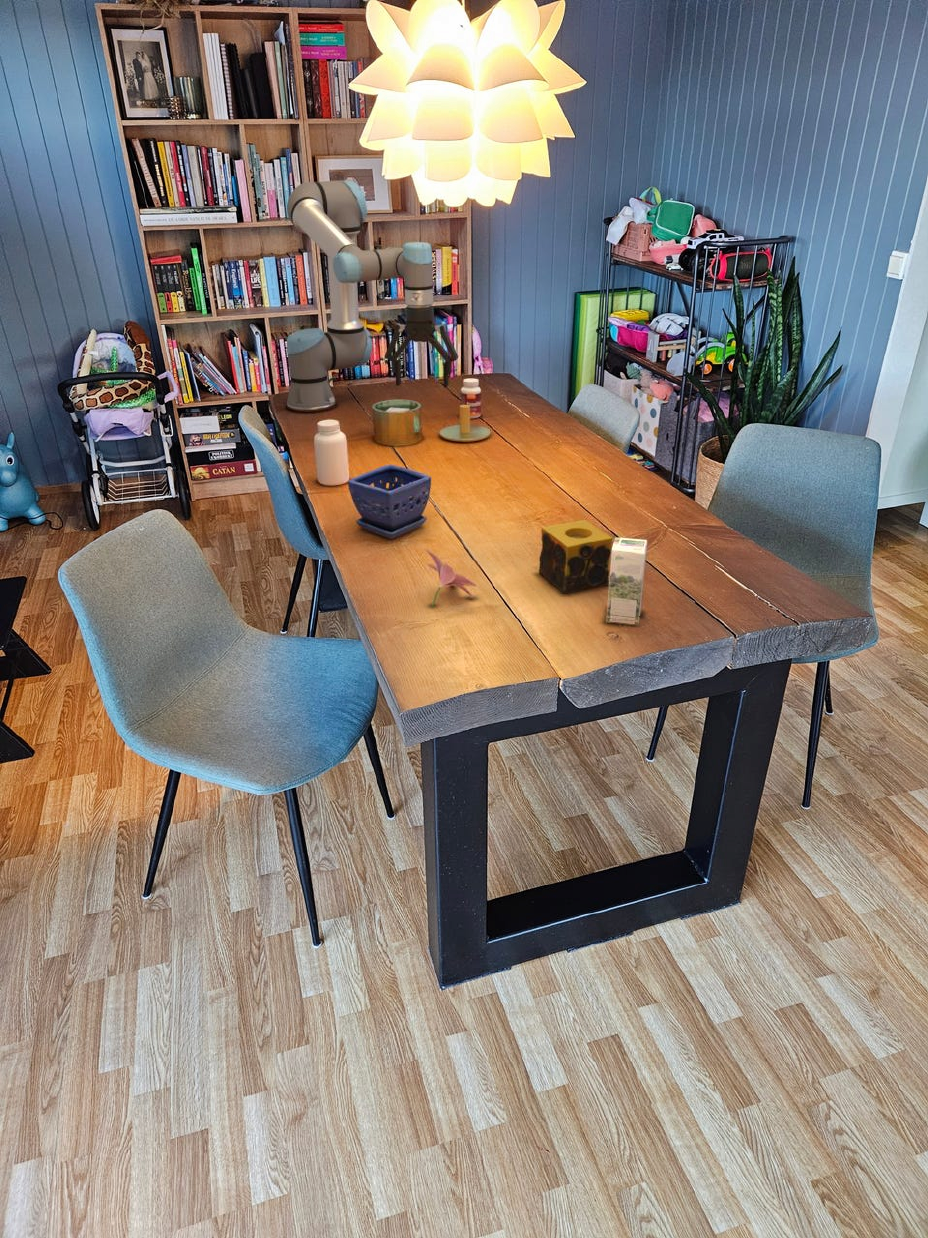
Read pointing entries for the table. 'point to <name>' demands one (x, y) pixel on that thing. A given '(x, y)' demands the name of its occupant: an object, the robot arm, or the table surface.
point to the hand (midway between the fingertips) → (422, 385)
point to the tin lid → (464, 428)
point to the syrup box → (626, 580)
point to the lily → (449, 576)
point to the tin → (397, 423)
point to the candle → (575, 556)
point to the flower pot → (390, 500)
